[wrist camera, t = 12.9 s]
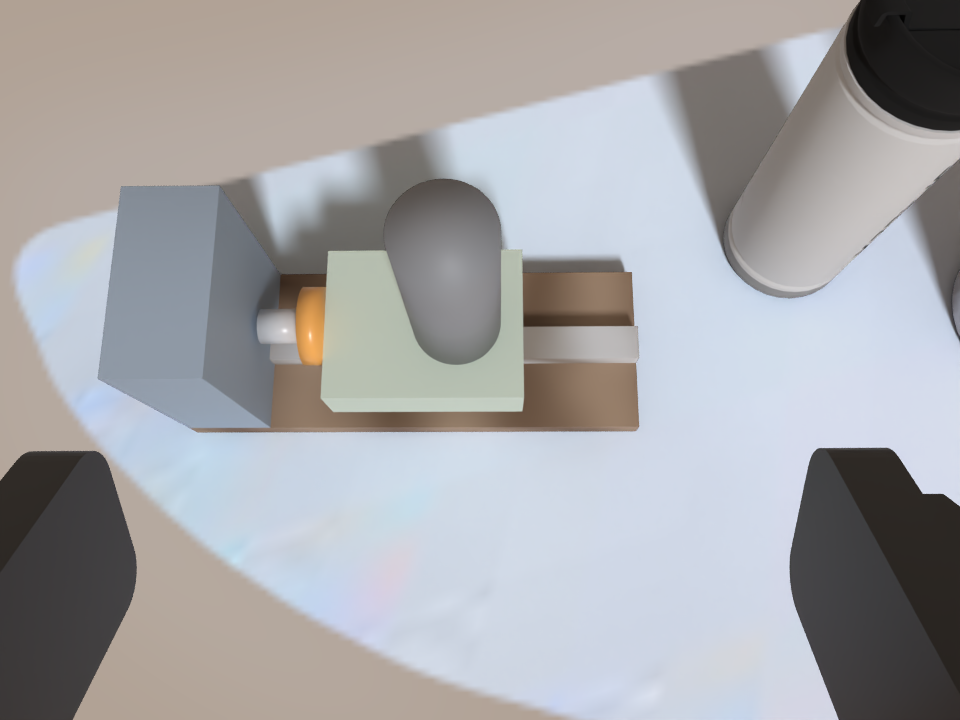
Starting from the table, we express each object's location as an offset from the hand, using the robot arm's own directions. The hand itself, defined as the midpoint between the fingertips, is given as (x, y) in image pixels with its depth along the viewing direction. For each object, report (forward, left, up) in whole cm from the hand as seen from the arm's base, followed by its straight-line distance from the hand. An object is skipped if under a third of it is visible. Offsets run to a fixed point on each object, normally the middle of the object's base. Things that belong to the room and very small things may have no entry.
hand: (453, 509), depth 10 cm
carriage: (+3, -11, -30) cm, 32 cm away
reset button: (+9, -11, -29) cm, 32 cm away
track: (+4, -11, -32) cm, 34 cm away
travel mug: (-15, -17, -33) cm, 40 cm away
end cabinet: (+13, -11, -31) cm, 35 cm away
